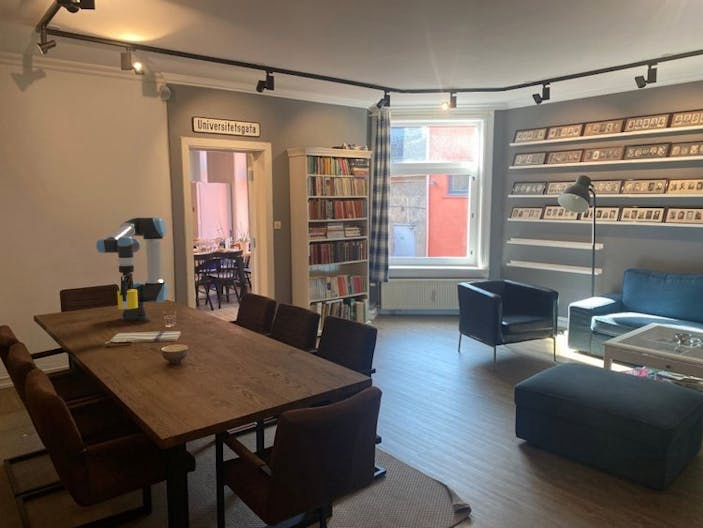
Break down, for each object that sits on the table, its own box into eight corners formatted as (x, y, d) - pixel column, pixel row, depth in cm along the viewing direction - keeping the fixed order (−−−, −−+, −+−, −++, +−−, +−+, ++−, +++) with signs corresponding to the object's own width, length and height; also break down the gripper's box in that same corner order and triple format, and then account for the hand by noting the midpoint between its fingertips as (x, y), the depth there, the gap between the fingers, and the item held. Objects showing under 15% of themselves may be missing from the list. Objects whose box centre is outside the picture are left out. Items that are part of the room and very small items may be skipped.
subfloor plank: (118, 335, 295) (118, 332, 295) (180, 333, 300) (180, 330, 300) (109, 343, 279) (109, 340, 279) (175, 341, 284) (175, 338, 284)
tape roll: (130, 309, 282) (129, 292, 281) (114, 308, 284) (113, 291, 283) (141, 306, 291) (140, 289, 290) (125, 305, 293) (124, 288, 292)
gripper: (124, 262, 296) (126, 301, 298) (112, 267, 273) (114, 309, 276) (138, 262, 297) (140, 301, 299) (127, 267, 274) (129, 309, 277)
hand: (128, 305), depth 287 cm, fingers closed on tape roll, 10 cm apart
